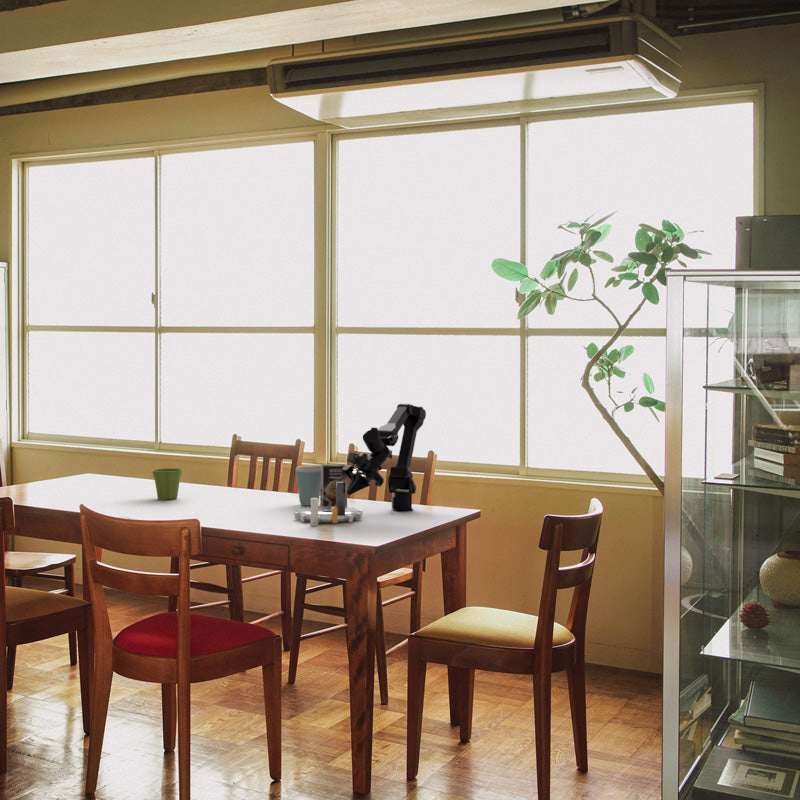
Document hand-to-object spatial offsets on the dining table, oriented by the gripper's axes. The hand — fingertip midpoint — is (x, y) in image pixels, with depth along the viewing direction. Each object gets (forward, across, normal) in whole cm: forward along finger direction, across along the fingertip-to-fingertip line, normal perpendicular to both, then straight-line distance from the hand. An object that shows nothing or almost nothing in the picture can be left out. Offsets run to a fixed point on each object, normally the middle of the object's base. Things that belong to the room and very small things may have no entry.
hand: (347, 494), depth 328 cm
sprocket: (+8, -8, +5) cm, 13 cm away
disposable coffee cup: (+2, -37, +11) cm, 39 cm away
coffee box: (0, -24, +13) cm, 28 cm away
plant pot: (+30, -79, -16) cm, 86 cm away
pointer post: (+16, +1, -3) cm, 16 cm away
